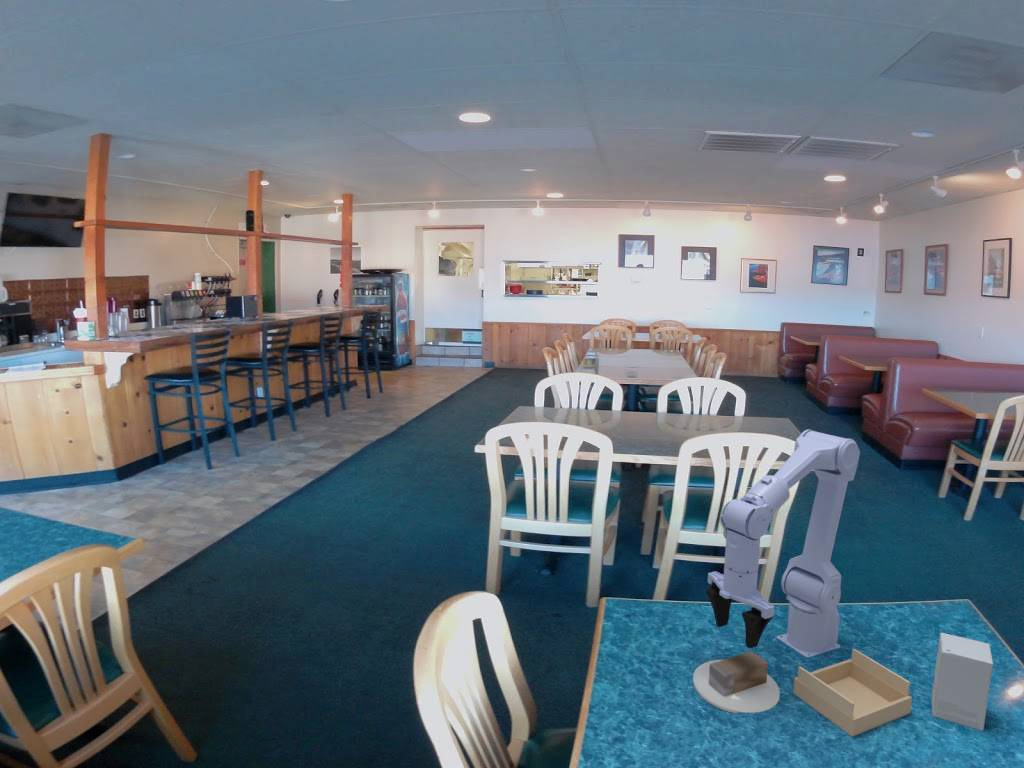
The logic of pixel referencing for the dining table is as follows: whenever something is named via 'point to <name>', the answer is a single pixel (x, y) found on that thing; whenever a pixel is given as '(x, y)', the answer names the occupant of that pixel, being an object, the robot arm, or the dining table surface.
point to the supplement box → (962, 680)
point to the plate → (736, 694)
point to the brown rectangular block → (738, 673)
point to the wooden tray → (855, 693)
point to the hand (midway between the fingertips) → (736, 635)
